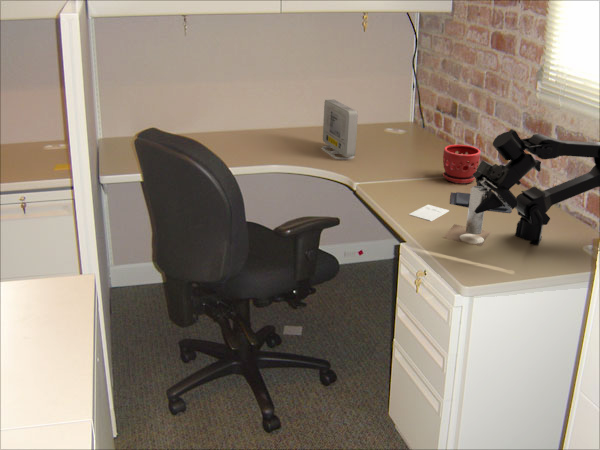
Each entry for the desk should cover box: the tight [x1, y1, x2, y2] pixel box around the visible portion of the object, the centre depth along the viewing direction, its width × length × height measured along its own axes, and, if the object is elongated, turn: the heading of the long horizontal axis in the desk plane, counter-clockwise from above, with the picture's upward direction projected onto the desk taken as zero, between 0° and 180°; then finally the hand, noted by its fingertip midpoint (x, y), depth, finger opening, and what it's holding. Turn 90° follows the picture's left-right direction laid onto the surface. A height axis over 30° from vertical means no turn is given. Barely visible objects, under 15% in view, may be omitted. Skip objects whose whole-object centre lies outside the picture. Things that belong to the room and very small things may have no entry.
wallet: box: [449, 191, 513, 214], centre depth 215 cm, size 20×2×15 cm
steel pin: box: [465, 185, 488, 234], centre depth 180 cm, size 4×4×13 cm
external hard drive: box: [407, 204, 450, 222], centre depth 202 cm, size 2×8×12 cm
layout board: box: [442, 223, 491, 247], centre depth 187 cm, size 11×12×1 cm
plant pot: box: [442, 144, 481, 184], centre depth 235 cm, size 13×13×12 cm
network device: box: [320, 99, 359, 161], centre depth 262 cm, size 26×9×20 cm, turn 20°
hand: (471, 209), depth 180 cm, fingers closed on steel pin, 4 cm apart
